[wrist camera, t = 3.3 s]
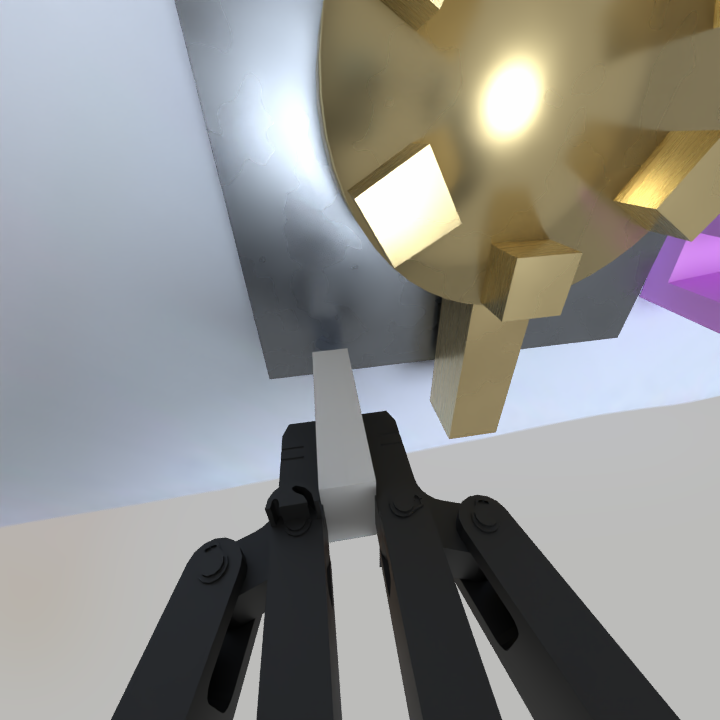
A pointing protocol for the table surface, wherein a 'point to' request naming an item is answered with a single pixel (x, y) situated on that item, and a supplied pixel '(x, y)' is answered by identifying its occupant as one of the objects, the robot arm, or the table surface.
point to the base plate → (331, 207)
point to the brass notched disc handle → (516, 155)
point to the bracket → (688, 277)
